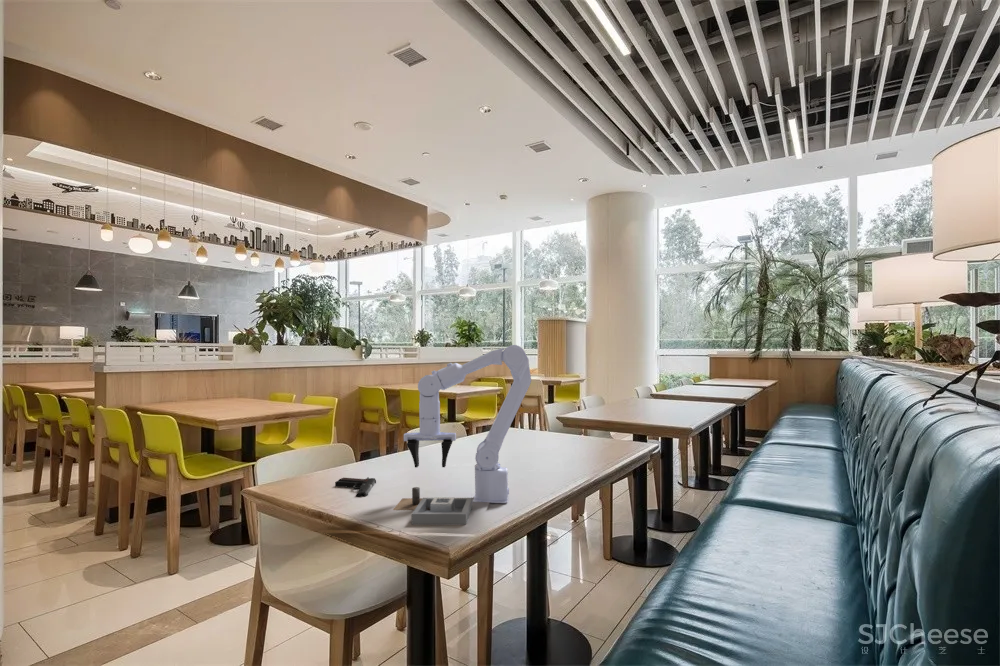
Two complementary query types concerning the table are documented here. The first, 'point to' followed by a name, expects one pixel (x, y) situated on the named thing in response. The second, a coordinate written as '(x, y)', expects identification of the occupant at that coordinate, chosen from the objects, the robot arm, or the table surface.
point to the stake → (410, 501)
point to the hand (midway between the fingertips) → (430, 466)
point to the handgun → (357, 484)
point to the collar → (443, 504)
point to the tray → (442, 513)
